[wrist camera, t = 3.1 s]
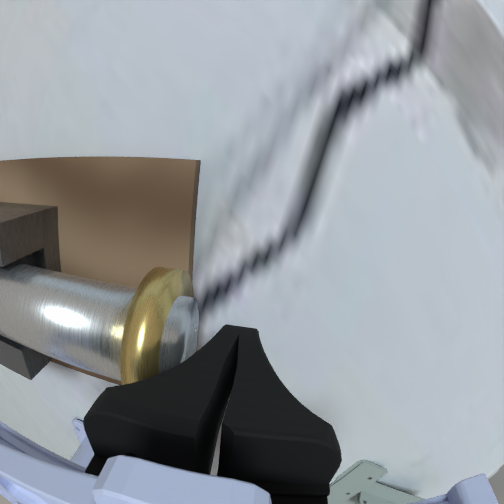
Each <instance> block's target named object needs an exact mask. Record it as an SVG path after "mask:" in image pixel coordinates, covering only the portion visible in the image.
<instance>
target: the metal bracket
mask: <svg viewBox="0 0 504 504" xmlns="http://www.w3.org/2000/svg"><path fill="white" fill-rule="evenodd" d="M386 473H387V469H386V468H383V467H381V466H379V465H376V464H374V463H372V462H369V461H367V460H360V461H358V462H356V463H355V464H353V465H352V466H351V467H350V468H348V469H347V470H346V471H344V472H343V473H342V474H341V475H339V476H338V477H337V478H336V481H334V482H333V483H331V484H330V495H329V496H327V498H328V504H407V503H412V502H416V501H421V500H425V499H423V498H420V497H417V496H413V495H410V494H407V493H404V492H401V491H399V490H396V489H393V488H390V487H387V486H385V485H382V484H379V483H377V482H376V481H377V480H378V479H379V478H381V477H382V476H383V475H385V474H386ZM369 477H371V478H369ZM348 493H349V494H348Z"/></svg>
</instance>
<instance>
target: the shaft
mask: <svg viewBox="0 0 504 504" xmlns="http://www.w3.org/2000/svg"><path fill="white" fill-rule="evenodd" d="M198 328H199V309H198V303H197V300H196V299H195V298H193V287H192V282H191V278H190V276H189V274H188V273H187V271H185V270H179V269H172V268H166V267H155V268H153V269H152V270H150V271H149V272H148V273H147V274H146V276H145V277H144V278H143V280H142V281H141V283H140V285H139V286H138V288H135V287H129V286H124V285H119V284H114V283H109V282H104V281H99V280H94V279H89V278H84V277H80V276H75V275H70V274H66V273H61V272H57V271H52V270H48V269H44V268H39V267H35V266H31V265H27V264H23V263H19V262H15V261H14V262H12V263H10V264H8V265H6V266H4V267H1V266H0V335H2V336H4V337H6V338H9V339H11V340H13V341H15V342H17V343H19V344H21V345H24V346H26V347H28V348H30V349H33V350H35V351H37V352H40V353H42V354H45V355H47V356H50V357H52V358H55V359H57V360H60V361H62V362H65V363H68V364H70V365H73V366H76V367H79V368H82V369H85V370H88V371H90V372H93V373H97V374H100V375H103V376H106V377H109V378H112V379H116V380H119V381H121V382H122V385H125V384H130V383H134V382H137V381H141V380H144V379H147V378H150V377H153V376H155V375H158V374H160V373H162V372H165V371H167V370H169V369H171V368H173V367H175V366H177V365H178V364H180V363H182V362H183V361H185V360H186V359H188V358H189V357H190V356H192V355H193V354H194V353H196V346H197V339H198Z"/></svg>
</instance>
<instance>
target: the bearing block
mask: <svg viewBox="0 0 504 504" xmlns="http://www.w3.org/2000/svg"><path fill="white" fill-rule="evenodd" d="M14 261H15V262H19V263H23V264H27V265H31V266H35V267H39V268H44V269H48V270H52V271H57V272H61V262H60V250H59V233H58V206H49V205H35V204H22V203H7V202H0V266H1V267H4V266H6V265H8V264H10V263H12V262H14ZM52 359H53V358H52V357H50V356H47V355H45V354H42V353H40V352H37V351H35V350H33V349H30V348H28V347H26V346H24V345H21V344H19V343H17V342H15V341H13V340H11V339H9V338H6V337H4V336H2V335H0V364H2V365H3V366H5V367H7V368H9V369H11V370H13V371H14V372H16V373H18V374H20V375H22V376H24V377H26V378H28V379H30V380H32V379H33V378H34V377H35V376H36V375H37V374H38V373H39V372H40V371H41V370H42V369H43V368H44V367H45V366H46V365H47V364H48V363H49V362H50V361H51V360H52Z"/></svg>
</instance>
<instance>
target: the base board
mask: <svg viewBox="0 0 504 504" xmlns="http://www.w3.org/2000/svg"><path fill="white" fill-rule="evenodd" d="M200 161H201V160H186V159H169V158H145V157H57V158H35V159H19V160H6V161H0V202H7V203H22V204H35V205H49V206H58V233H59V250H60V262H61V273H66V274H70V275H75V276H80V277H84V278H89V279H94V280H99V281H104V282H109V283H114V284H119V285H124V286H129V287H135V288H138V286H139V285H140V283H141V281H142V280H143V278H144V277H145V276H146V274H147V273H148V272H149V271H150V270H152V269H153V268H155V267H166V268H172V269H179V270H185V271H187V273H188V274H189V276H190V278H191V282H192V270H193V251H194V234H195V220H196V206H197V194H198V182H199V171H200ZM51 361H53V362H55V363H58V364H60V365H63V366H66V367H68V368H71V369H74V370H76V371H79V372H82V373H85V374H88V375H91V376H94V377H97V378H100V379H103V380H106V381H109V382H112V383H116V384H119V385H122V382H121V381H119V380H116V379H112V378H109V377H106V376H103V375H100V374H97V373H93V372H90V371H88V370H85V369H82V368H79V367H76V366H73V365H70V364H68V363H65V362H62V361H60V360H57V359H55V358H53V359H52V360H51Z"/></svg>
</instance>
